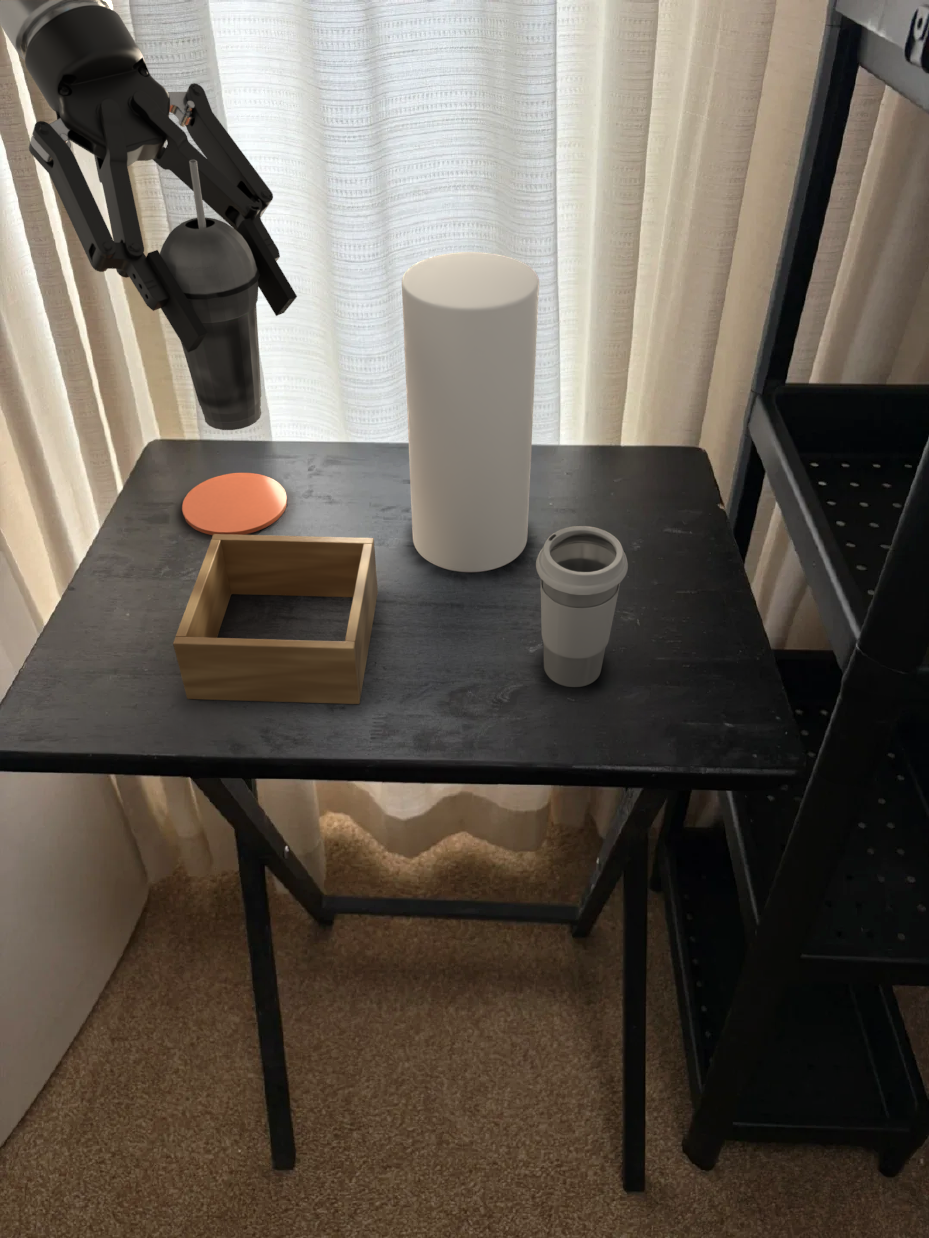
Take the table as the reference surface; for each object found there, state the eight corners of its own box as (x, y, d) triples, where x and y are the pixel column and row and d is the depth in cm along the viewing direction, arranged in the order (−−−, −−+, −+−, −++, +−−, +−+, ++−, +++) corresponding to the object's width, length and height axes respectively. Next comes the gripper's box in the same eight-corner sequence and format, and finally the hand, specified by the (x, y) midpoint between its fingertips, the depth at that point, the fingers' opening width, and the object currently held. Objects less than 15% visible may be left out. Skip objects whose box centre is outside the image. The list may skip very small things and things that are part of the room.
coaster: (224, 550, 96) (223, 546, 96) (162, 506, 101) (161, 502, 101) (308, 504, 102) (307, 500, 101) (245, 465, 107) (244, 461, 106)
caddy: (359, 704, 82) (353, 648, 78) (186, 699, 82) (172, 643, 78) (377, 592, 92) (373, 537, 88) (224, 588, 92) (213, 533, 88)
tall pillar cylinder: (402, 566, 94) (388, 303, 78) (424, 498, 102) (415, 247, 86) (519, 578, 93) (531, 313, 77) (533, 508, 101) (545, 255, 84)
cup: (560, 627, 88) (569, 511, 80) (629, 658, 85) (646, 541, 77) (513, 675, 84) (518, 558, 76) (585, 710, 81) (598, 592, 73)
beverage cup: (262, 385, 87) (225, 132, 74) (291, 426, 82) (256, 164, 69) (176, 404, 85) (122, 147, 72) (200, 448, 80) (146, 181, 67)
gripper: (175, 45, 82) (328, 303, 85) (-74, 100, 71) (110, 394, 74) (204, -23, 76) (368, 257, 78) (-64, 26, 65) (136, 350, 67)
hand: (243, 323), depth 76 cm, fingers closed on beverage cup, 7 cm apart
